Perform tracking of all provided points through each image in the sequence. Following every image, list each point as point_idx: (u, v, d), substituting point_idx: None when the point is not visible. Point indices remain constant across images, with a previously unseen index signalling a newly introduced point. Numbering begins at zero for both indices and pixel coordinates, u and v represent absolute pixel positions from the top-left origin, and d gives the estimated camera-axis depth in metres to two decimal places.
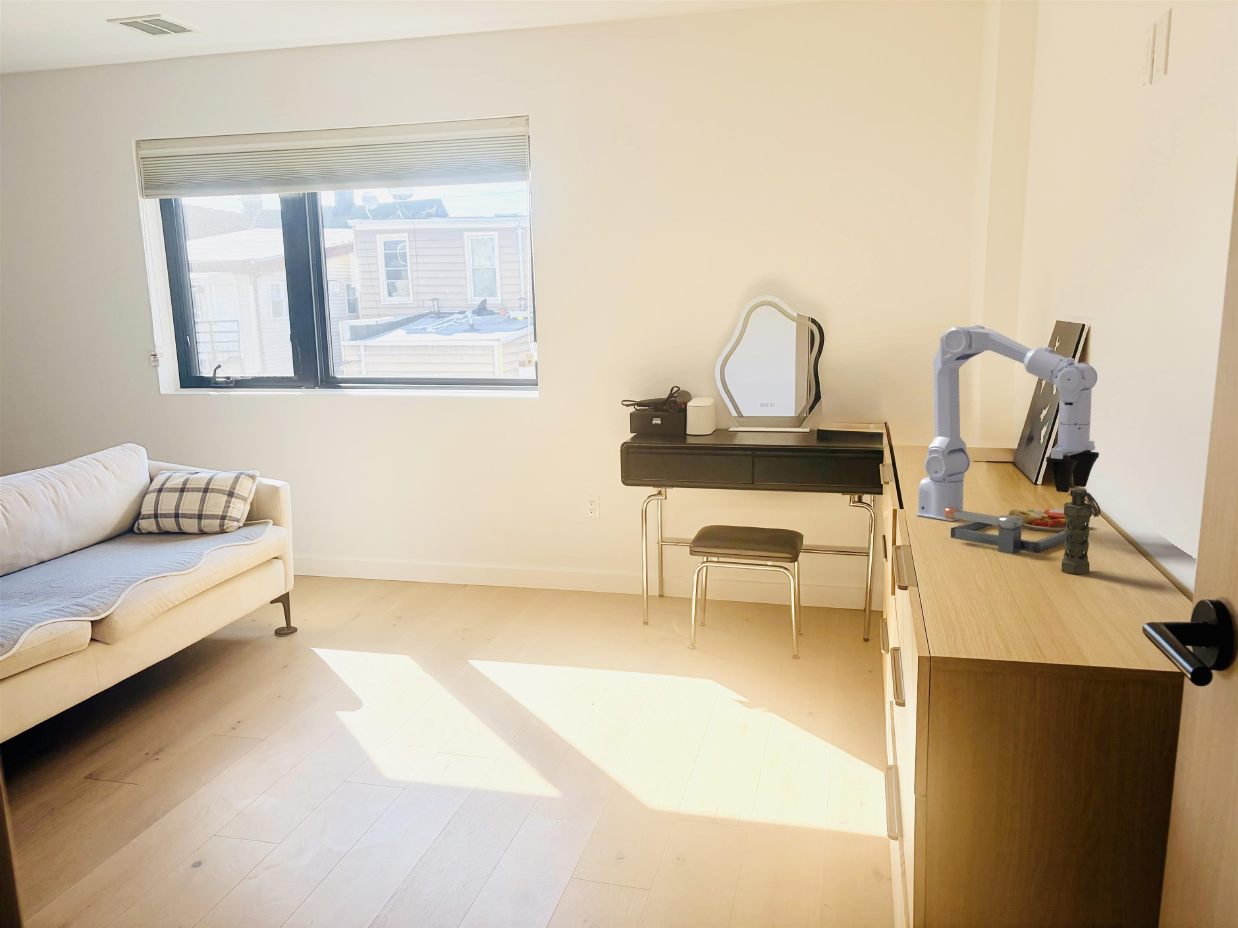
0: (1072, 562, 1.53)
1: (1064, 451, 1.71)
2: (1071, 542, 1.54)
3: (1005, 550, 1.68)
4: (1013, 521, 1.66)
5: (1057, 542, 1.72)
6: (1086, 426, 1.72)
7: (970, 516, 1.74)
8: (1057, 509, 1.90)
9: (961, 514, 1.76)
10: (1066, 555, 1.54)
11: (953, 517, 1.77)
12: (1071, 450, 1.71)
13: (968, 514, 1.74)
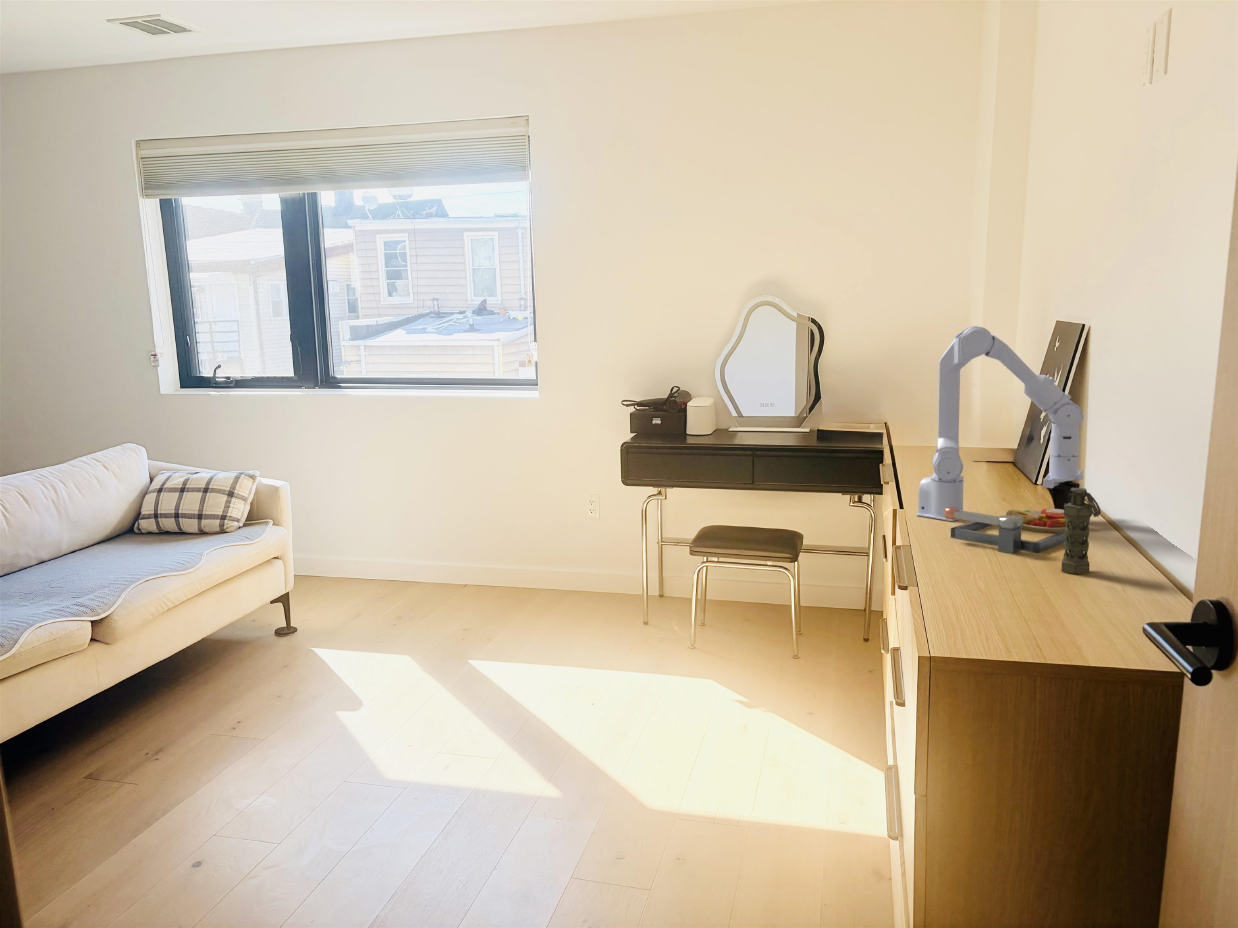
0: (1072, 562, 1.53)
1: (1055, 481, 1.87)
2: (1071, 542, 1.54)
3: (1005, 550, 1.68)
4: (1013, 521, 1.66)
5: (1057, 542, 1.72)
6: (1075, 458, 1.88)
7: (970, 516, 1.74)
8: (1054, 509, 1.90)
9: (961, 514, 1.76)
10: (1066, 555, 1.54)
11: (953, 517, 1.77)
12: (1061, 480, 1.87)
13: (968, 514, 1.74)
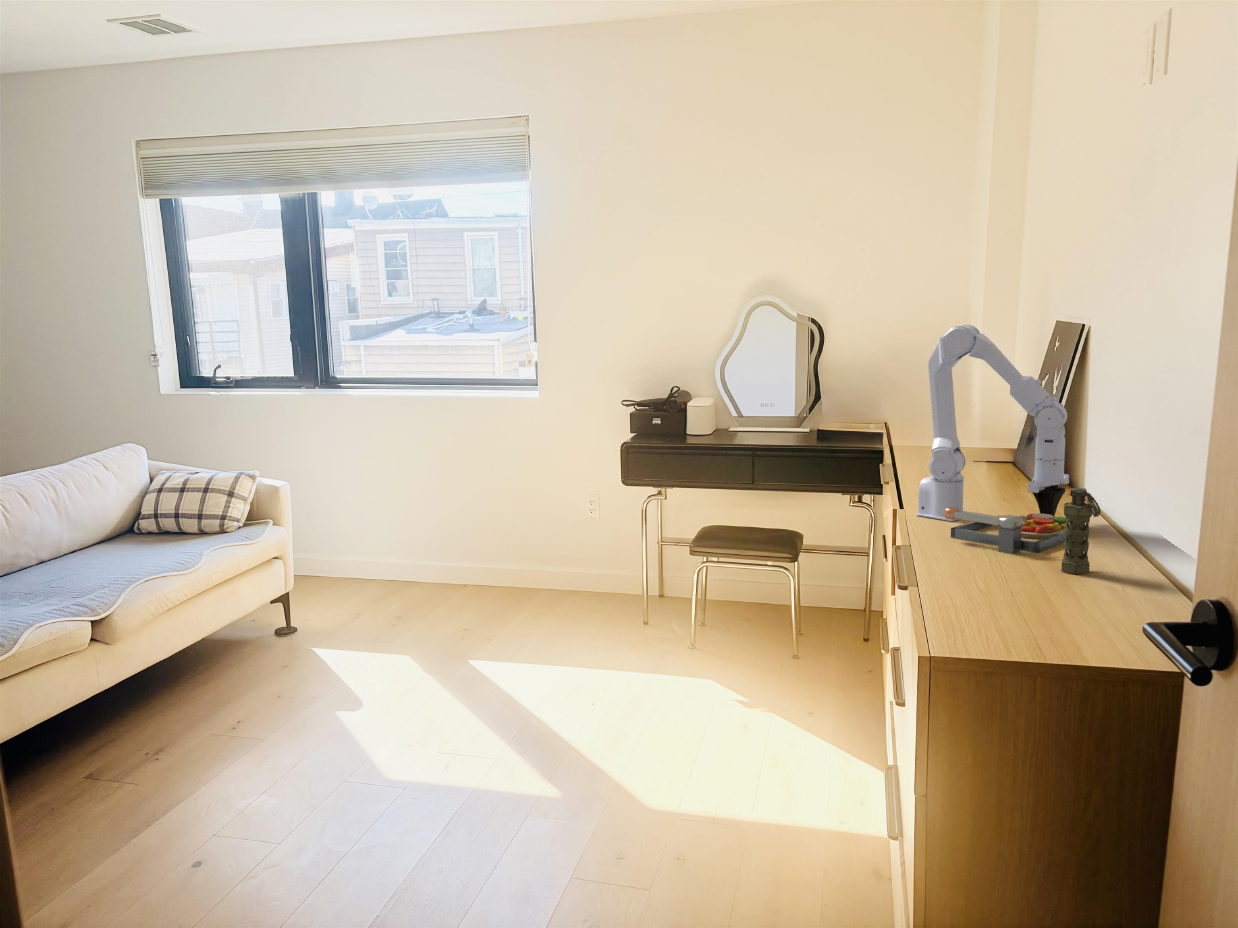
0: (1072, 562, 1.53)
1: (1040, 485, 1.83)
2: (1071, 542, 1.54)
3: (1005, 550, 1.68)
4: (1013, 521, 1.66)
5: (1057, 542, 1.72)
6: (1060, 462, 1.84)
7: (970, 516, 1.74)
8: (1040, 514, 1.86)
9: (961, 514, 1.76)
10: (1066, 555, 1.54)
11: (953, 517, 1.77)
12: (1046, 484, 1.83)
13: (968, 514, 1.74)
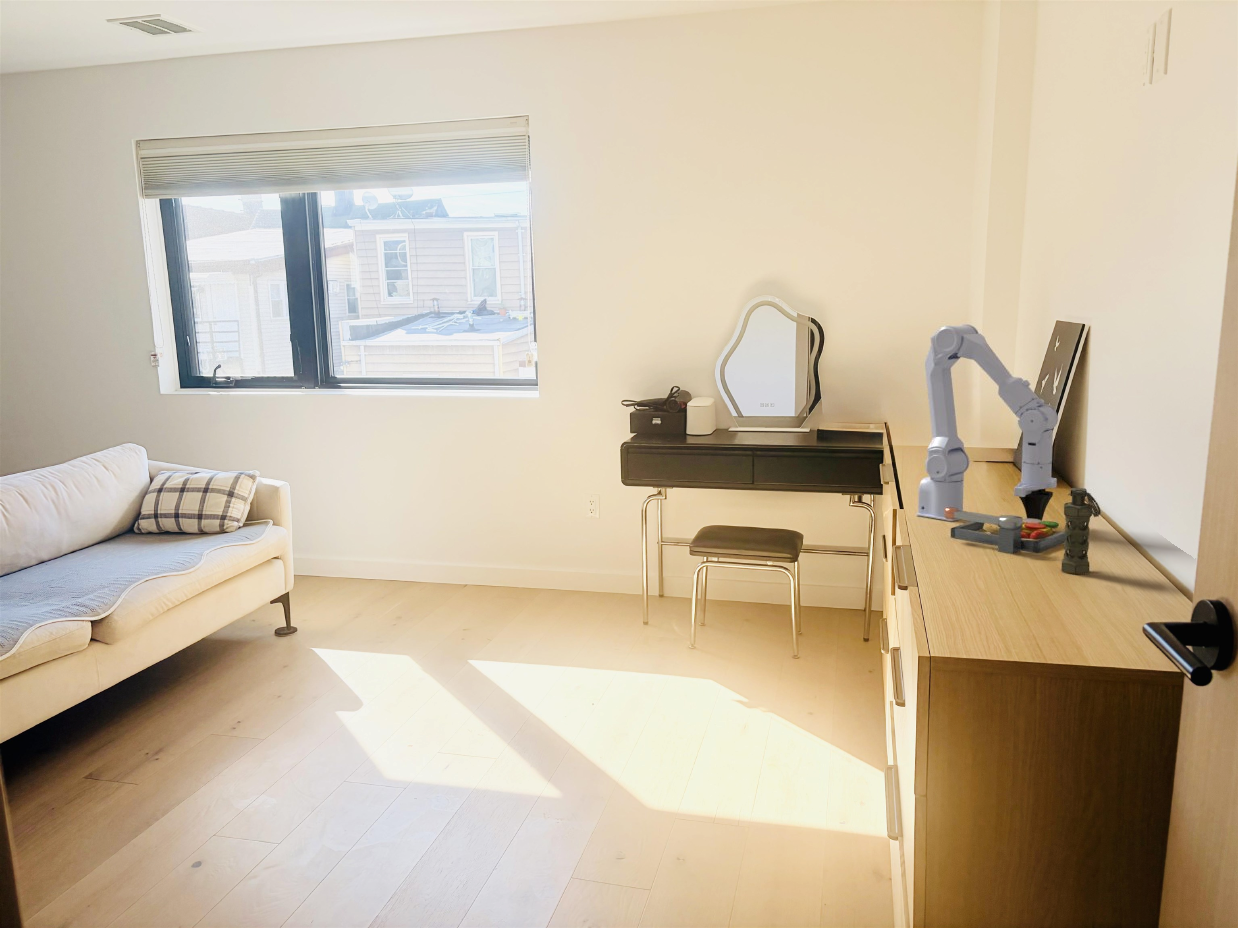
0: (1072, 562, 1.53)
1: (1026, 489, 1.79)
2: (1071, 542, 1.54)
3: (1005, 550, 1.68)
4: (1013, 521, 1.66)
5: (1057, 542, 1.72)
6: (1047, 465, 1.80)
7: (970, 516, 1.74)
8: (1027, 519, 1.82)
9: (961, 514, 1.76)
10: (1066, 555, 1.54)
11: (953, 517, 1.77)
12: (1033, 488, 1.80)
13: (968, 514, 1.74)
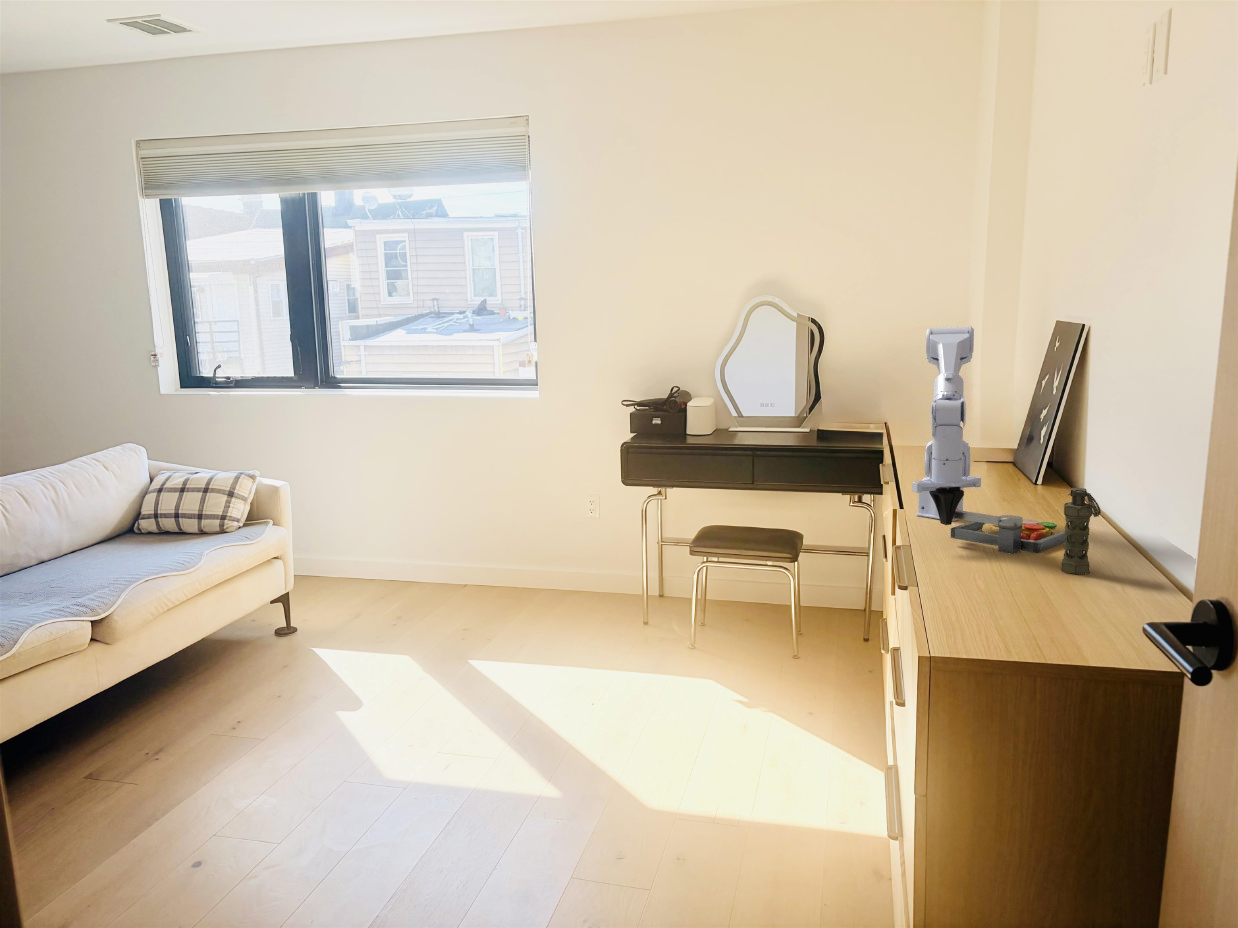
0: (1072, 562, 1.53)
1: (923, 485, 1.72)
2: (1071, 542, 1.54)
3: (1005, 550, 1.68)
4: (1013, 521, 1.66)
5: (1057, 542, 1.72)
6: (952, 462, 1.71)
7: (970, 516, 1.74)
8: (1024, 520, 1.82)
9: (961, 514, 1.76)
10: (1066, 555, 1.54)
11: (953, 517, 1.77)
12: (932, 485, 1.72)
13: (968, 514, 1.74)
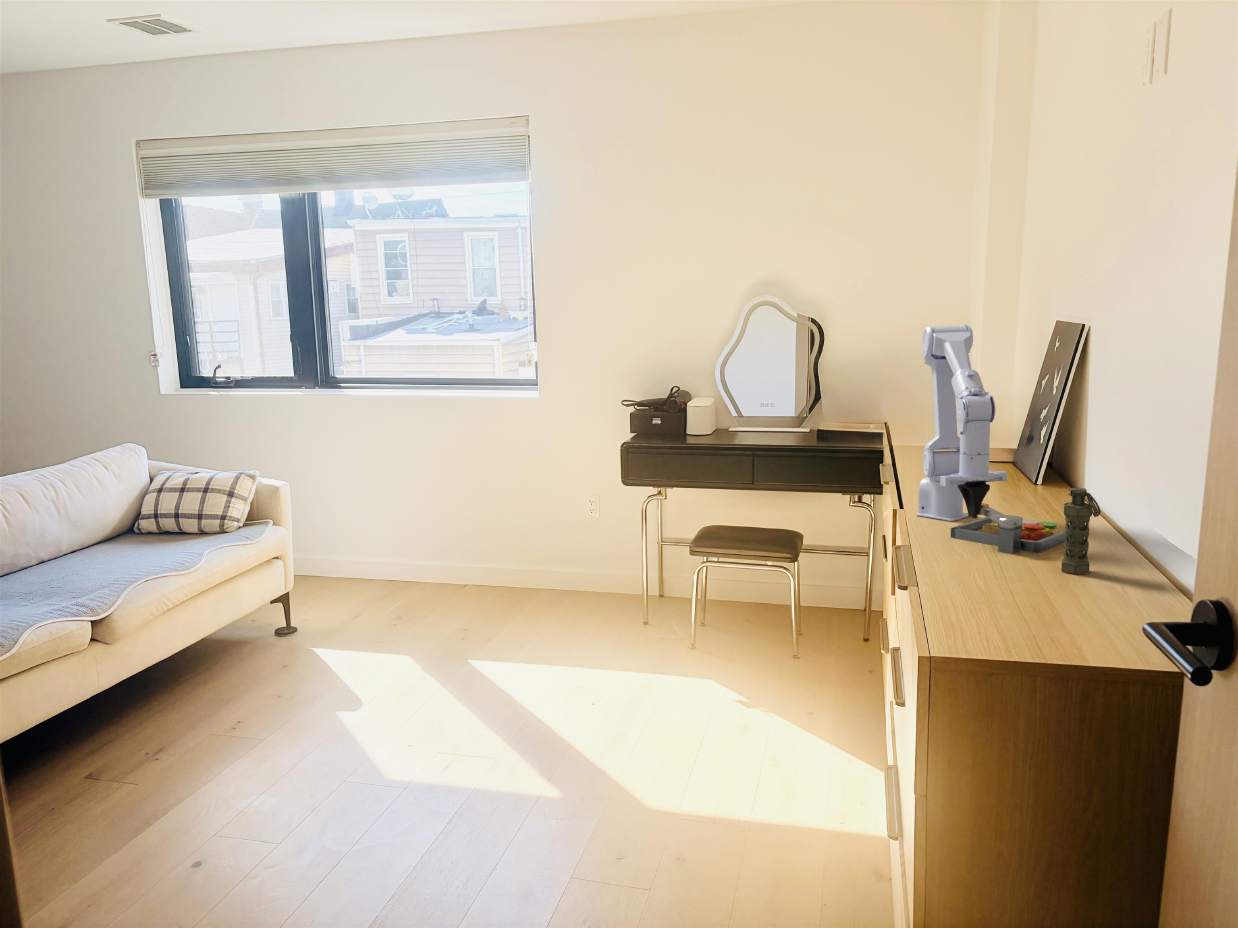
0: (1072, 562, 1.53)
1: (951, 479, 1.77)
2: (1071, 542, 1.54)
3: (1005, 550, 1.68)
4: (1005, 521, 1.67)
5: (1057, 542, 1.72)
6: (979, 456, 1.76)
7: (988, 513, 1.76)
8: (1024, 520, 1.82)
9: (984, 510, 1.78)
10: (1066, 555, 1.54)
11: (980, 513, 1.80)
12: (960, 479, 1.77)
13: (987, 511, 1.77)
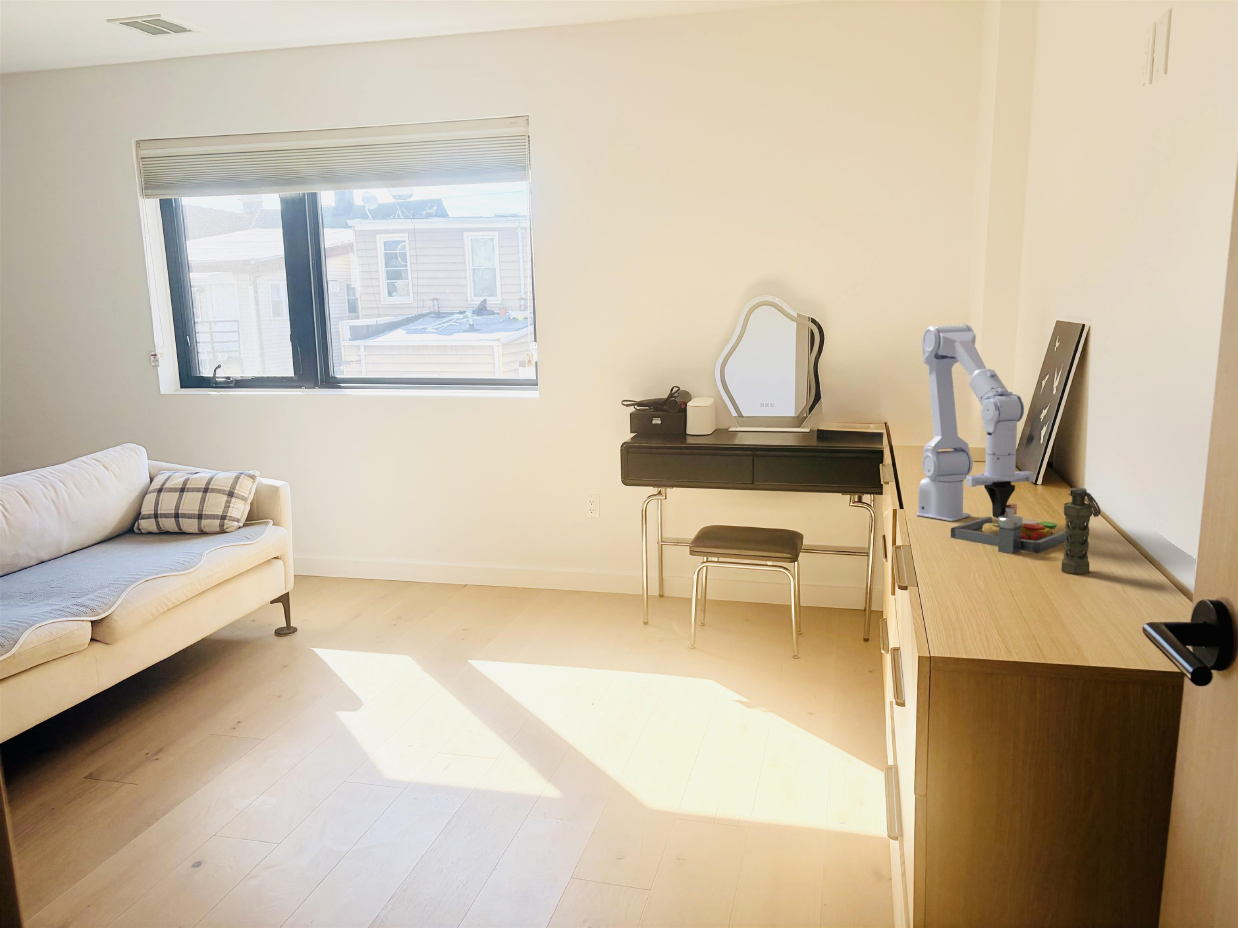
0: (1072, 562, 1.53)
1: (977, 479, 1.76)
2: (1071, 542, 1.54)
3: (1005, 550, 1.68)
4: (1001, 520, 1.68)
5: (1057, 542, 1.72)
6: (1006, 457, 1.75)
7: None
8: (1024, 519, 1.82)
9: None
10: (1066, 555, 1.54)
11: (1005, 512, 1.79)
12: (986, 479, 1.76)
13: (1006, 510, 1.76)
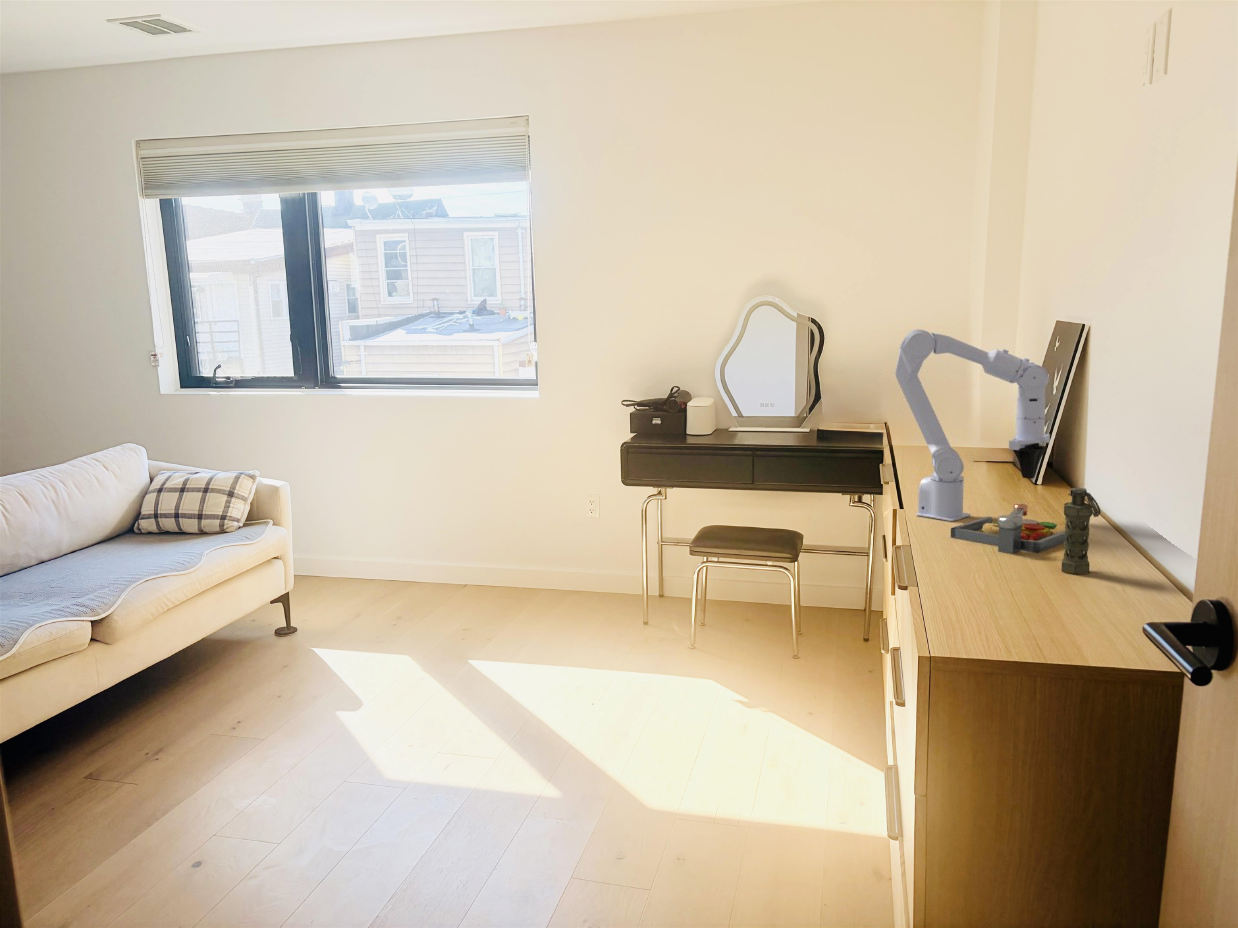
0: (1072, 562, 1.53)
1: (1020, 443, 1.88)
2: (1071, 542, 1.54)
3: (1005, 550, 1.68)
4: (1000, 519, 1.68)
5: (1057, 542, 1.72)
6: (1041, 420, 1.89)
7: None
8: (1024, 519, 1.82)
9: None
10: (1066, 555, 1.54)
11: None
12: (1027, 442, 1.88)
13: (1013, 511, 1.76)
